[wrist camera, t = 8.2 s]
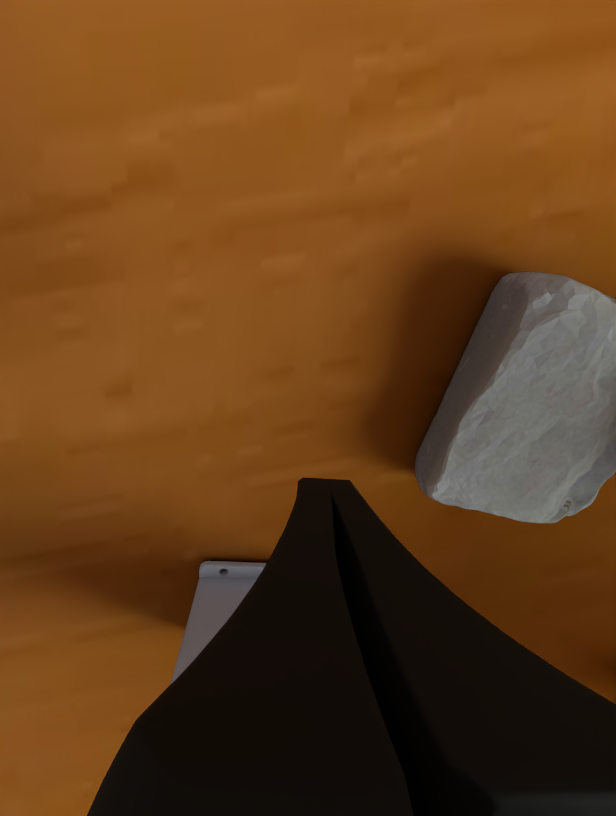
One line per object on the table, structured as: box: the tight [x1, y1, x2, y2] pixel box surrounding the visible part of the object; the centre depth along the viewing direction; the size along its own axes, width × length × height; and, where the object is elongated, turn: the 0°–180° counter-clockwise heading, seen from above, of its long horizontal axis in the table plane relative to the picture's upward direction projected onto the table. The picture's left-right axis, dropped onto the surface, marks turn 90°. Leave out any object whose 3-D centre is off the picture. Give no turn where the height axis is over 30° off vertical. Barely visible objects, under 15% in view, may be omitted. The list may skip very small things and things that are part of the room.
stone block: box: [415, 272, 616, 523], centre depth 19 cm, size 12×5×10 cm
